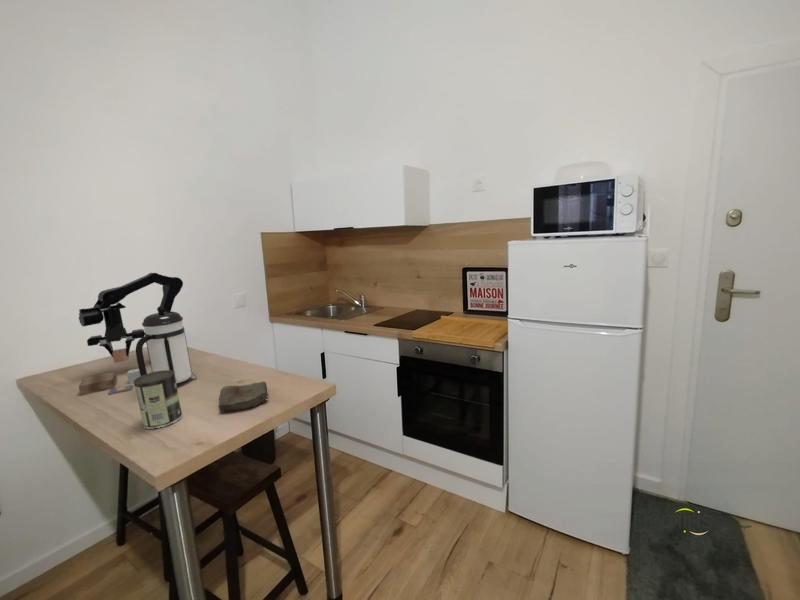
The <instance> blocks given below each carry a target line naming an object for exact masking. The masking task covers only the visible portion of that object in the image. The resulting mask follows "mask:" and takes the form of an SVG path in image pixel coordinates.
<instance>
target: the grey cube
mask: <svg viewBox="0 0 800 600" xmlns="http://www.w3.org/2000/svg"><path fill="white" fill-rule="evenodd" d="M126 374H127V379H128V383H129V385H134V382H133V381H134V380H135V379H136V378H138V377H140V376H141V375H140V371H139V368H134V369H128V371H127V373H126Z"/></svg>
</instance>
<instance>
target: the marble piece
mask: <svg viewBox="0 0 800 600" xmlns="http://www.w3.org/2000/svg"><path fill="white" fill-rule="evenodd" d="M267 386H268V385H267V383H266V381H261V382H254V383H251V384H244V385H226V386H223V387H222V388H221V390H220V391H219V397H218V401H219V402H218V409H219V412H220V413H222V412H223V413H226V411H229V412H236V411H235V410H237V411H240V410H245V409H249V408H254V407H256V406H259V405H260V404H262V403H264V402H263V401H265V400H266V399H268V400H269V393H268V394H267V390H268V387H267ZM267 396H268V397H267ZM261 402H262V403H261ZM265 402H266V401H265ZM259 403H260V404H259ZM258 404H259V405H258Z"/></svg>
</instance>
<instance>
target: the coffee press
mask: <svg viewBox="0 0 800 600" xmlns="http://www.w3.org/2000/svg"><path fill="white" fill-rule="evenodd" d="M156 311H157V313H156V312H155V313H153V314H149V315H146V317H145V318H144V319H143V321H142V323H141V326H142V327H143V330H144V332H145V336H144V337H142V338H139V340H138V341H137V343H136V345H135V356H136V361H137V367H138V369H139V371H140V375H141V376H143V375H145V374H148V372H147V368H146V363H145V362H146V361H145V357H144V352H143V347H144V344H146V348H147V354H148V359H149V363H150V368H151V373H153V372H157V371H164V370H171V371H174V372H175V380H176V385H177V384H180V383H182V382H186V381H187V380H189V379H191V380H193V379H194V378H193V377H195V380H196V379H197V375H196V374H194V372H193V371H192V366H191V365H192V364H191V359H190V354H189V348H188V342H187V338H186V333H185V332H186V330H185V327H184V324H183V320H184V317H183V316H181V314H180V313H179V312H178V311H171V312H163V311H164V307H162V306H160V305H159V306H157V309H156ZM158 312H159V313H158ZM192 375H193V377H191V376H192ZM177 386H178V385H177Z"/></svg>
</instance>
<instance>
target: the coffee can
mask: <svg viewBox="0 0 800 600" xmlns="http://www.w3.org/2000/svg"><path fill="white" fill-rule="evenodd" d="M133 382H134V383H133V386H134V388H135V393H136V398H137V401H138V407H139V412H140V417H141V421H142V426H143V428H144V429H146V428H147V429H146V430H155V429H154V428H158V429H161V428H160V427H162V428H164V427H165V426H166V427H168V426H167V425H169V426H171V425H173V424H175V423H177V422H178V420H179V421H180V420H181V419H182V418H183V413H182V409H181V407H182V406H181V403H180V402H181V401H180V397H179V392H178V385H176V380H175V372H174V371H171V370H164V371H157V372H153V373H152V372H149V373H147V374H145V375H143V376H140V377H138V378H136V379H135V380H134V381H133ZM172 423H173V424H172ZM170 424H171V425H170ZM166 427H165V428H166Z"/></svg>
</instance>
